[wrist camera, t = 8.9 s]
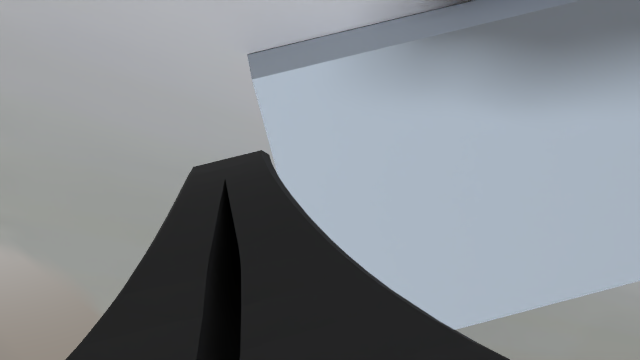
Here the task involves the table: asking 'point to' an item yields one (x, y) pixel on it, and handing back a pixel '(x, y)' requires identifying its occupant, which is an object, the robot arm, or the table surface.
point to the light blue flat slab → (469, 150)
